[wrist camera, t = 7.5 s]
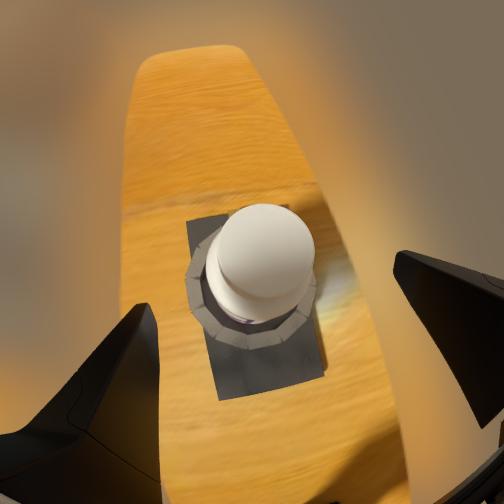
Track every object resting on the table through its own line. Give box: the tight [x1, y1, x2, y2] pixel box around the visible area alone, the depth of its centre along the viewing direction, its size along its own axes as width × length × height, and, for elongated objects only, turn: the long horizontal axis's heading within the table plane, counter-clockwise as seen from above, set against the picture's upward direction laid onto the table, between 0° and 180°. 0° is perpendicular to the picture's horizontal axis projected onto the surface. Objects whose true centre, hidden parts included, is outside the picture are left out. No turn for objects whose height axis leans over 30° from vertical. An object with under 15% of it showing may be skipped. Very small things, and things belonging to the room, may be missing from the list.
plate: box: [186, 205, 324, 401], centre depth 20 cm, size 14×8×1 cm, turn 12°
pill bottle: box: [206, 204, 315, 324], centre depth 15 cm, size 5×5×10 cm
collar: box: [185, 208, 317, 350], centre depth 20 cm, size 10×9×2 cm
